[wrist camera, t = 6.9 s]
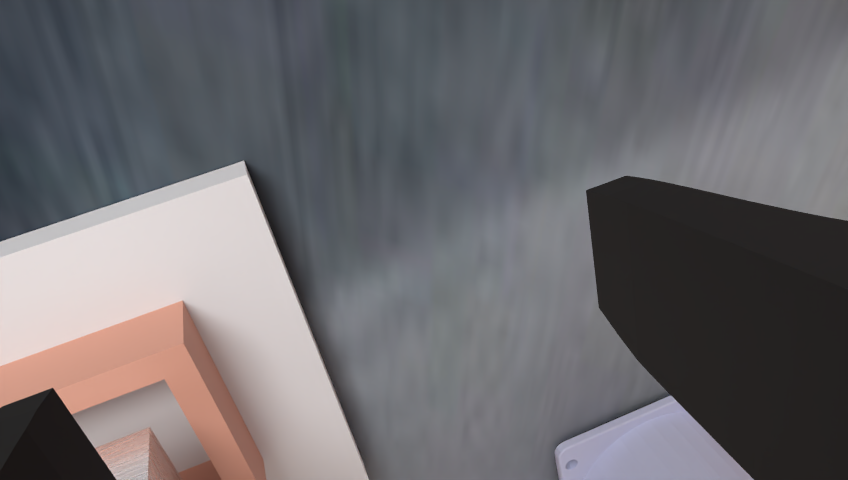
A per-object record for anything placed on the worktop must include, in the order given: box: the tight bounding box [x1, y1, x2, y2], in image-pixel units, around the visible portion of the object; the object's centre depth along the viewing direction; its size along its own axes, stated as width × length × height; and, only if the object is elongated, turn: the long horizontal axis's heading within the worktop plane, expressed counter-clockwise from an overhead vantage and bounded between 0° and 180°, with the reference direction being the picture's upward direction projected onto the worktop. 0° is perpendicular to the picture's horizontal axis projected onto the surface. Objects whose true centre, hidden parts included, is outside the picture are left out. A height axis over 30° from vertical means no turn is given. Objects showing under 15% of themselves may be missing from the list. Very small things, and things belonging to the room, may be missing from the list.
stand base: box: [0, 161, 369, 480], centre depth 19 cm, size 12×12×4 cm
